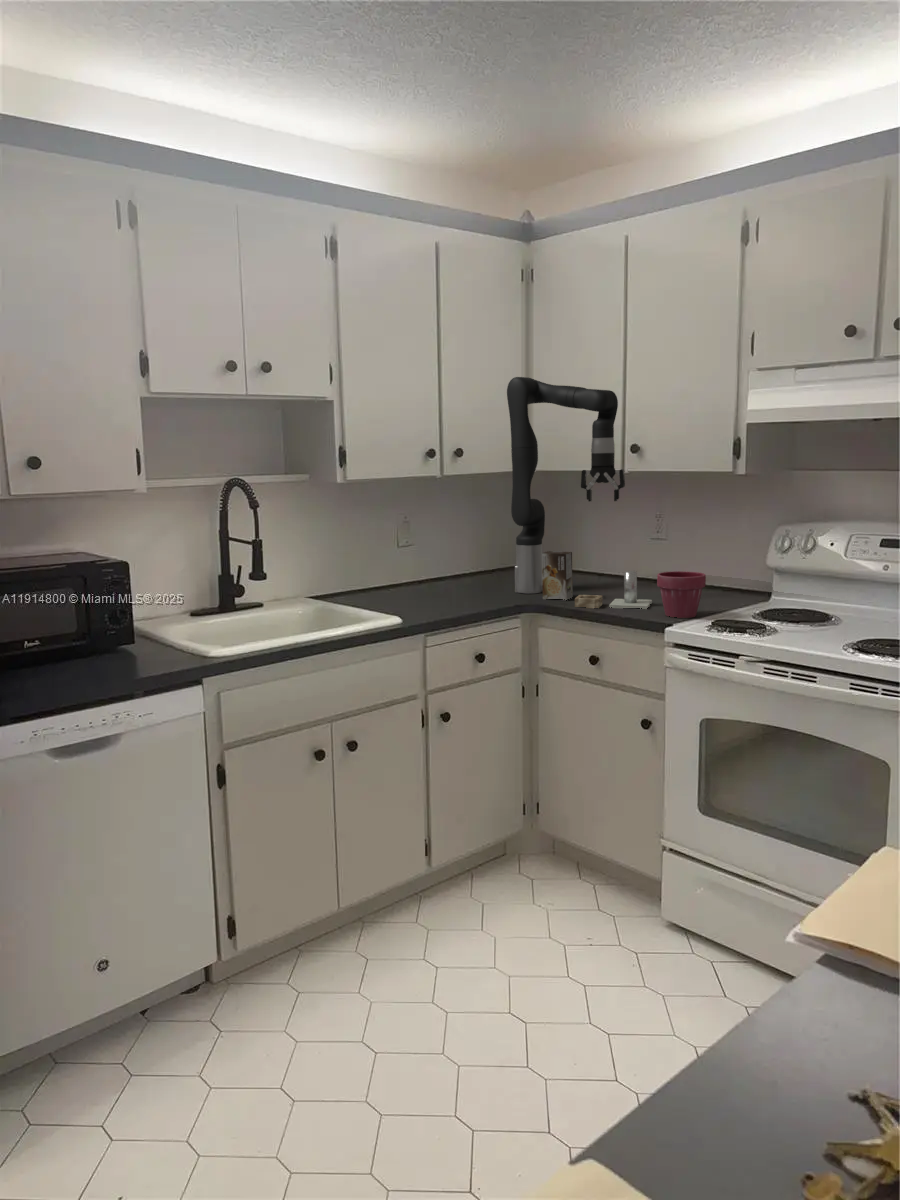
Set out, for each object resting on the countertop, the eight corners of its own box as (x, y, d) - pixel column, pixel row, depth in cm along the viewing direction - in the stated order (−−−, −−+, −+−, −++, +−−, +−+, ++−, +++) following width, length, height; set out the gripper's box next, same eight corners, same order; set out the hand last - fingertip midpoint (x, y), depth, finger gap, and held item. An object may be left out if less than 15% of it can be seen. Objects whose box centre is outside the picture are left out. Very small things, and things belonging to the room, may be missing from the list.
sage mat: (609, 608, 285) (609, 604, 284) (615, 601, 296) (615, 598, 296) (647, 609, 281) (647, 606, 280) (651, 602, 292) (651, 599, 292)
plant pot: (675, 609, 279) (675, 569, 277) (714, 615, 269) (715, 573, 267) (647, 615, 270) (647, 574, 268) (686, 621, 260) (687, 578, 258)
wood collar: (574, 607, 287) (574, 598, 286) (579, 603, 294) (579, 594, 293) (598, 608, 284) (598, 599, 283) (602, 604, 291) (602, 595, 291)
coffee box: (573, 598, 305) (573, 551, 302) (567, 601, 299) (566, 553, 297) (548, 596, 309) (548, 550, 306) (541, 599, 304) (541, 552, 301)
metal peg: (623, 603, 287) (623, 572, 285) (625, 601, 291) (625, 570, 289) (635, 603, 285) (635, 572, 284) (637, 601, 289) (637, 571, 288)
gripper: (626, 451, 294) (625, 500, 297) (583, 452, 299) (583, 500, 301) (622, 451, 287) (622, 501, 290) (579, 452, 292) (579, 502, 294)
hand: (602, 501), depth 295 cm, fingers open, 8 cm apart
